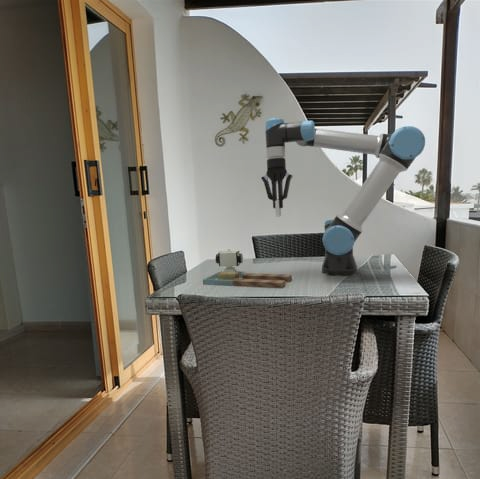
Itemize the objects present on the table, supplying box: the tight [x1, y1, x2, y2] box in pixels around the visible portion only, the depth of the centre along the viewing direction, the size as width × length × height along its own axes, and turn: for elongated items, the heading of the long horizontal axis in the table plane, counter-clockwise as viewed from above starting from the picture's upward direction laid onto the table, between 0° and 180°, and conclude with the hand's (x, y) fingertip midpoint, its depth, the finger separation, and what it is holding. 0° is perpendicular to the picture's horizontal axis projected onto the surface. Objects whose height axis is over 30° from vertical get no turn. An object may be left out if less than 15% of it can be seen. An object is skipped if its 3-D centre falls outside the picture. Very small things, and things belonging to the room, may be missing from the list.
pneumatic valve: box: [215, 249, 244, 272], centre depth 162 cm, size 6×12×12 cm, turn 78°
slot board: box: [232, 272, 293, 289], centre depth 141 cm, size 20×14×3 cm
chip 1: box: [216, 271, 228, 280], centre depth 147 cm, size 4×4×4 cm
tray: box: [202, 271, 246, 287], centre depth 147 cm, size 13×14×3 cm
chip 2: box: [226, 271, 240, 280], centre depth 146 cm, size 4×4×4 cm
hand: (278, 216), depth 147 cm, fingers closed
